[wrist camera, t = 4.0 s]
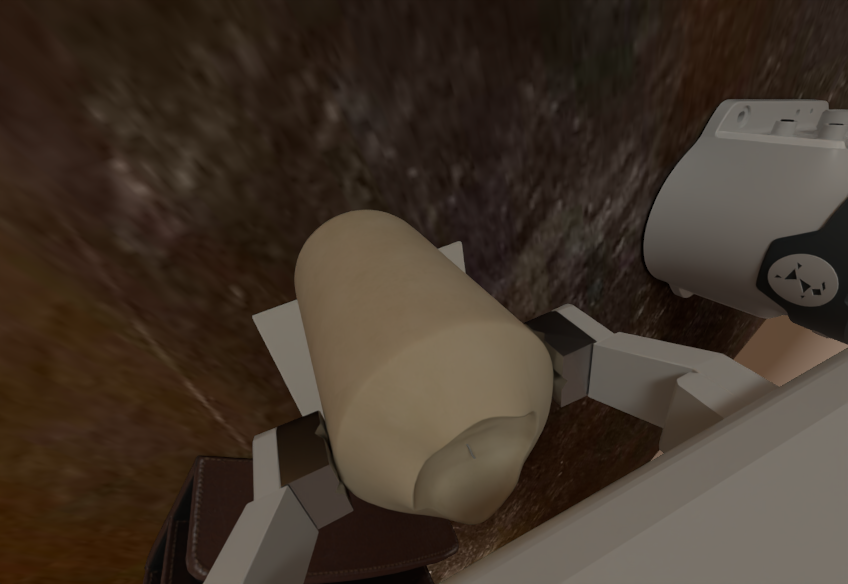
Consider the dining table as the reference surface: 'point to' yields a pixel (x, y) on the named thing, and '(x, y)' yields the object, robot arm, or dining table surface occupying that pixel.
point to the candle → (417, 371)
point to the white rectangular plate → (291, 345)
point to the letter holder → (335, 545)
